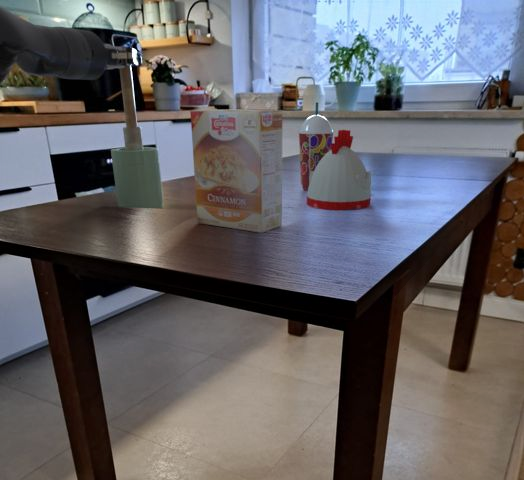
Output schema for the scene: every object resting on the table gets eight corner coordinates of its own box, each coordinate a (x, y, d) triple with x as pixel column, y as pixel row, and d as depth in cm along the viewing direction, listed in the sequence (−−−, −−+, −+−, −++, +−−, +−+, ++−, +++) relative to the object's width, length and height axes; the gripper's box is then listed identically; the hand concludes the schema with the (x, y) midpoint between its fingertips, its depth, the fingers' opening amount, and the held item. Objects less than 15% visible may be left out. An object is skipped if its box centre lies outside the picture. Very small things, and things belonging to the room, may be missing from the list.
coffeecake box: (196, 223, 98) (188, 109, 89) (219, 216, 103) (214, 108, 94) (261, 233, 90) (260, 110, 81) (283, 225, 95) (284, 109, 86)
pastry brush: (123, 159, 105) (109, 46, 97) (131, 157, 108) (118, 48, 100) (139, 159, 105) (127, 45, 96) (147, 158, 108) (136, 47, 99)
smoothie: (327, 192, 127) (331, 102, 118) (294, 191, 129) (295, 102, 120) (333, 187, 134) (337, 102, 125) (301, 186, 136) (303, 102, 127)
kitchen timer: (380, 202, 115) (387, 129, 108) (352, 212, 105) (357, 133, 99) (326, 196, 123) (329, 127, 116) (294, 205, 113) (296, 130, 106)
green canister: (110, 212, 108) (102, 151, 103) (131, 203, 116) (124, 146, 111) (152, 213, 106) (146, 151, 101) (170, 205, 114) (165, 147, 109)
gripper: (44, 80, 91) (108, 82, 105) (108, 78, 86) (165, 80, 100) (36, 30, 88) (102, 39, 102) (101, 25, 83) (162, 35, 97)
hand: (133, 60), depth 101 cm, fingers closed on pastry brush, 2 cm apart
